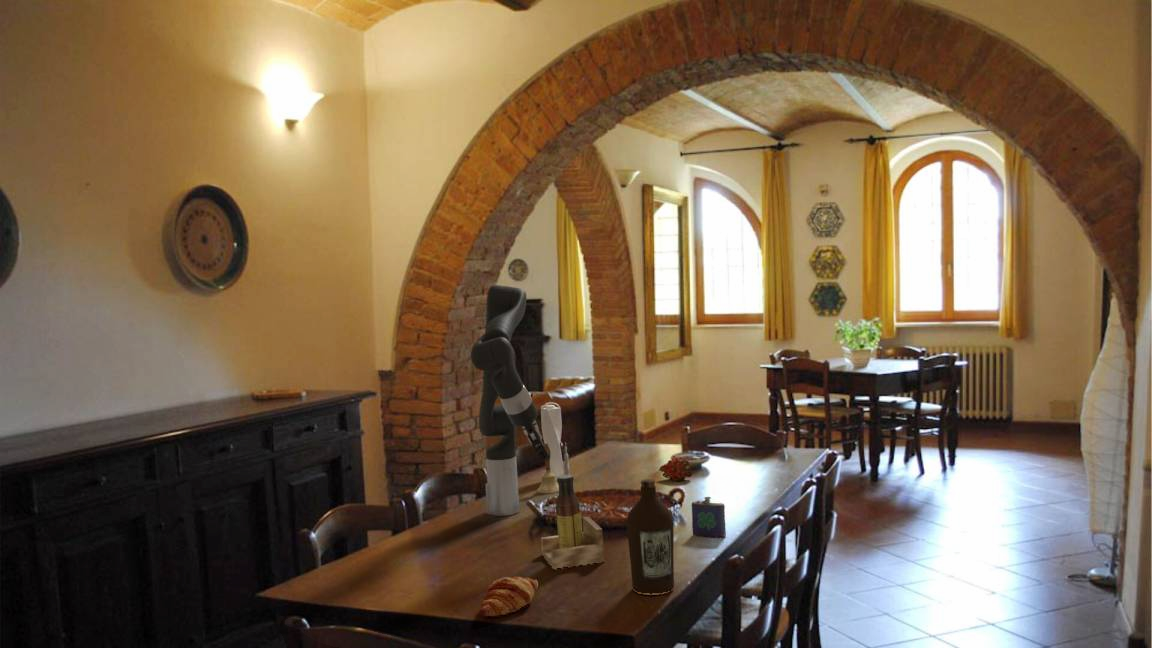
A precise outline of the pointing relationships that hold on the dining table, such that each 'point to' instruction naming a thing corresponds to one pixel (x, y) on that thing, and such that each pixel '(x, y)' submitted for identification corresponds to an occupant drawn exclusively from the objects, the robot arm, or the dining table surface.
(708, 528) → the flask
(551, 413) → the skyscraper
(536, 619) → the dining table surface
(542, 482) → the hand bell
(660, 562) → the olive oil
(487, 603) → the croissant
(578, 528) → the sauce bottle
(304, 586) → the dining table surface
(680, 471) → the dragon fruit
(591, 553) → the light wooden holder
